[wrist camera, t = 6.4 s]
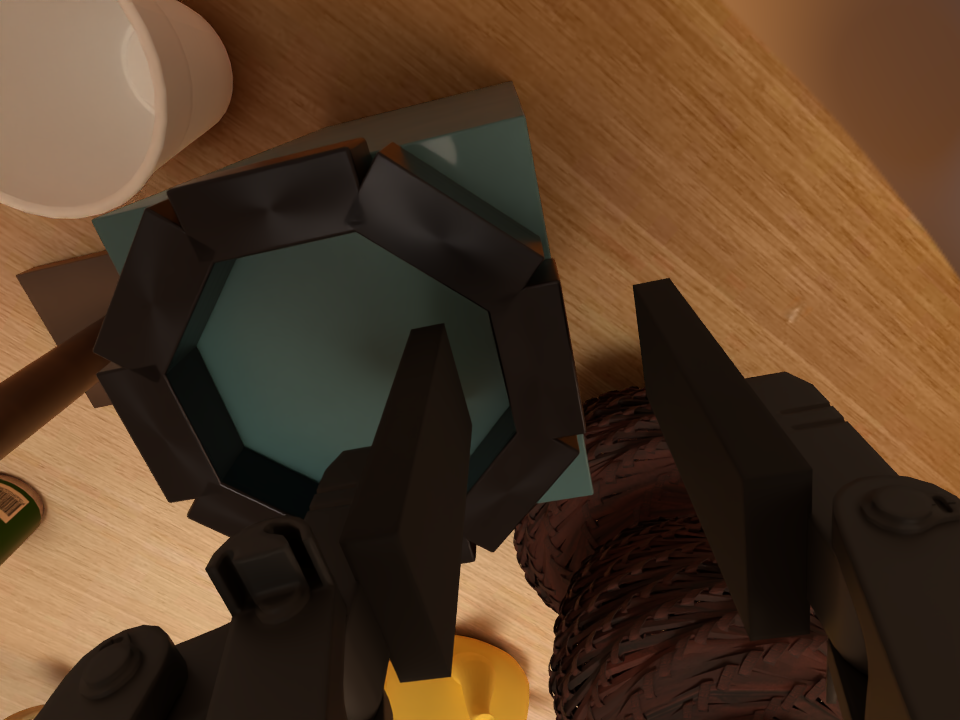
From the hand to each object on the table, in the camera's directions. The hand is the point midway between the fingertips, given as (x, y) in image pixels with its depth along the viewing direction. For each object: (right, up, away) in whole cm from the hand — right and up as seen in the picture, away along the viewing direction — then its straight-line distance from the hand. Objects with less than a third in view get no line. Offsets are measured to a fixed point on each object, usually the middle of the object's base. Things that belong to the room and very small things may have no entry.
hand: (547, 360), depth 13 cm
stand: (-4, +9, +20) cm, 22 cm away
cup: (-17, +15, +17) cm, 28 cm away
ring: (-5, 0, +2) cm, 5 cm away
